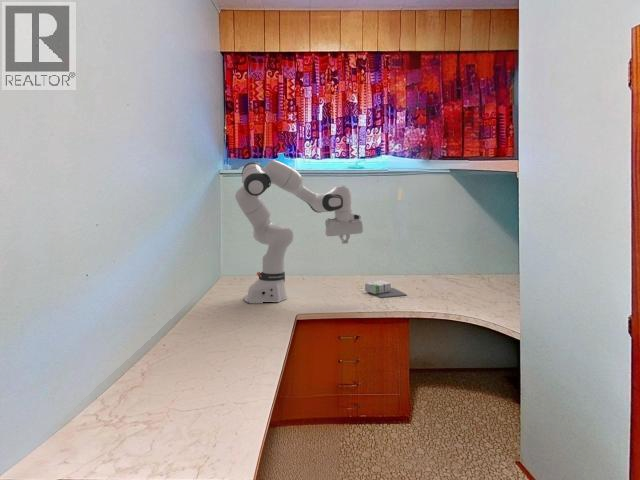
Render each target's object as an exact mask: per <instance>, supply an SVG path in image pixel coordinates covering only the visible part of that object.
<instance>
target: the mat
mask: <svg viewBox="0 0 640 480" xmlns="http://www.w3.org/2000/svg"><path fill="white" fill-rule="evenodd" d="M373 295H374V296H376V297H378V298H379V299H383V298H395V297H406V296H408V294H407V293H405V292H403V291H400V289H399V290H398V289H397V288H395V287H391V290H390V291H389V292H384V293H380V294H373Z"/></svg>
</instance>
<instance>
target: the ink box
mask: <svg viewBox="0 0 640 480" xmlns="http://www.w3.org/2000/svg"><path fill="white" fill-rule="evenodd" d="M391 288H392V287H391V282H388V281H386V280H385V281H384V280H381V279H380V280H376V281H369V282H365V284H364V291H365V292H366V293H370V294H372V295H374V294H380V293H384V292H389V291H390V290H391Z"/></svg>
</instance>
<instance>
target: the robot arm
mask: <svg viewBox="0 0 640 480" xmlns="http://www.w3.org/2000/svg"><path fill="white" fill-rule="evenodd" d="M241 171H242V172H241V179H242V180H241V182H242V184H243V185H242V187H240V188H238V190H236V193H235V201H236V202H237V204H238V206H239V208H240V210H241V211H242V213H243V214H244V216H245V217H246V219H247V220H248V221H249V223H250V224H251V226H252V228H253V232H252V234H253V238H254V239H255V241H257V242H259V243H260V244H262V245H267V246H268V247H267V250H266V253H265V254H264V255H263V256H262V271H261V272H260V271H257V272H256V275H257V277H258V279H257V280H256V281H254V283H253V284H251V285H250V286H249V287H248V291H247V294H245V295H244V296H243V300H245V301H246V302H245V301H244V302H245V303H247V302H249V303H248V304H264V303H263V302H278V303H281V302H282V301H285V300H287V299H288V296H287V292H286V286H285V280H286V272H285V255H286V251H287V249H288V248H289V246H291V244H292V242H293V240H294V233H293V230H292V229H291V228H290V227H287V226H286V225H283V224H281V225H280V224H275V223H273V222H272V220H271V211H270V210H269V208H268V206H267V205H266V203H265V202H264V201H263V199H262V198H261V195H263V193H265V191H266V190H267V189H269V188H270V187H271V186H272V184H273V185H275V186H277V187H278V188H279V189H282V190H284V191H286V192H288V193H289V194H292V195H294V196H295V197H297V198H299V199H300V200H302V201H303V202H305V203H306V204H307V205H308V206H309V207H310V209H311V210H312V211H313V212H314V213H317V214H318V213H320V214H321V213H330V212H331V213H332V212H334V217H331V218H327V219H325V223H324V224H325V236H327V237H337V236H339V239H340V240H341V244H342V245H345V244H349V240H350V237H351V235H356V234H362V233H363V232H364V227H363V222H362V220H361V219H362V216H361V215H360V214H356V213H353V212H352V210H353V209H352V207H351V206H352V196H351V191H350V188H349V187H348V186H346V185H335V186H334V187H333V188H332V189H331V190H329V191H327V192H324V193H317V192H313V191H312V190H311V189H309V188H307V187H306V186H304V185H303V176H302V174H301V173H299V172H298V171H297V170H296V169H295V168H293V167H291V166H289V165H288V164H285V163H283V162H281V161H278V160H276V159H273V160H270V161H268V162H267V163H266V165H265V166H264V167H263V166H262V165H261V164H260V163H258V162H254V161H250V162H248V163H246V164H245V165H244V167H243V168H242V170H241ZM344 237H346V238H345V239H344Z"/></svg>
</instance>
